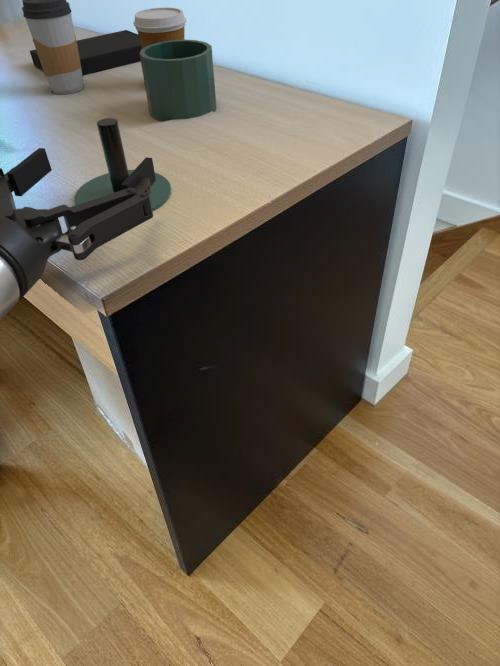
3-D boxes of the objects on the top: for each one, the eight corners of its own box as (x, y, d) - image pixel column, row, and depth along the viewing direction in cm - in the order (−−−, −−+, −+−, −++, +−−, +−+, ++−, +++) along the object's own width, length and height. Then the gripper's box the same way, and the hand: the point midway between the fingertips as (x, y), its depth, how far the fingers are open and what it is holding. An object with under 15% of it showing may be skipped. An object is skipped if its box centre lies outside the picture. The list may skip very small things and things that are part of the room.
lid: (68, 190, 69) (45, 114, 62) (155, 169, 73) (142, 95, 66) (87, 234, 61) (63, 153, 54) (185, 208, 65) (173, 129, 58)
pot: (142, 105, 91) (131, 46, 85) (202, 93, 95) (196, 36, 88) (162, 127, 84) (152, 65, 77) (226, 113, 87) (222, 52, 80)
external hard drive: (158, 56, 112) (156, 41, 110) (58, 81, 103) (54, 65, 101) (128, 43, 121) (125, 29, 119) (33, 65, 111) (29, 50, 109)
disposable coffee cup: (134, 85, 99) (121, 14, 91) (173, 73, 104) (164, 4, 96) (163, 96, 94) (152, 22, 86) (203, 83, 99) (196, 11, 91)
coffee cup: (97, 88, 99) (76, -3, 89) (58, 99, 95) (32, 6, 85) (76, 78, 104) (54, -9, 93) (38, 89, 100) (10, -1, 89)
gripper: (-110, 286, 50) (15, 183, 64) (122, 324, 45) (201, 203, 59) (-155, 219, 45) (-8, 124, 59) (102, 253, 39) (194, 140, 54)
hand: (97, 163), depth 59 cm, fingers open, 13 cm apart
